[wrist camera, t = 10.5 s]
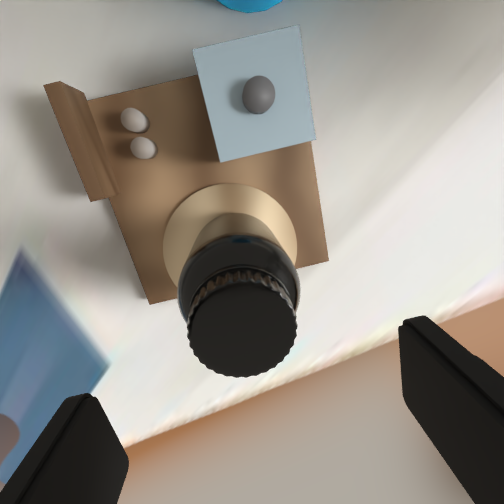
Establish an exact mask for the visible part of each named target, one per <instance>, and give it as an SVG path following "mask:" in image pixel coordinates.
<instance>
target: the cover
mask: <svg viewBox="0 0 504 504" xmlns="http://www.w3.org/2000/svg"><path fill="white" fill-rule="evenodd" d="M192 51H193V55H194V59H195V63H196V67H197V71H198V75H199V79H200V83H201V87H202V91H203V95H204V99H205V103H206V107H207V111H208V115H209V119H210V123H211V127H212V131H213V135H214V139H215V143H216V147H217V151H218V155H219V159H220V163H221V162H225V161H229V160H234V159H238V158H242V157H246V156H250V155H254V154H259V153H263V152H267V151H271V150H275V149H279V148H284V147H288V146H292V145H296V144H300V143H304V142H308V141H312V140H316V136H315V129H314V122H313V115H312V109H311V102H310V95H309V88H308V81H307V74H306V67H305V61H304V54H303V47H302V40H301V33H300V26H299V25H295V26H291V27H286V28H282V29H278V30H274V31H269V32H265V33H261V34H257V35H252V36H248V37H244V38H240V39H235V40H231V41H227V42H223V43H218V44H214V45H210V46H205V47H201V48H197V49H193V50H192Z"/></svg>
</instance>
